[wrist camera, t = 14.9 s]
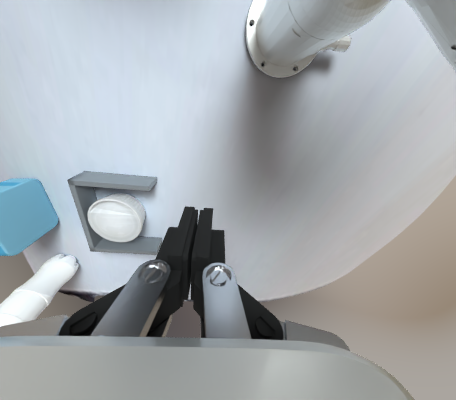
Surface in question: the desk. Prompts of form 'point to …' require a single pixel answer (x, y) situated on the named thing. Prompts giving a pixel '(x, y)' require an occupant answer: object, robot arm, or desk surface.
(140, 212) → the ramekin
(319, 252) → the desk surface
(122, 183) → the box
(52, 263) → the water bottle
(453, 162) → the desk surface
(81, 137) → the desk surface
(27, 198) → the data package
